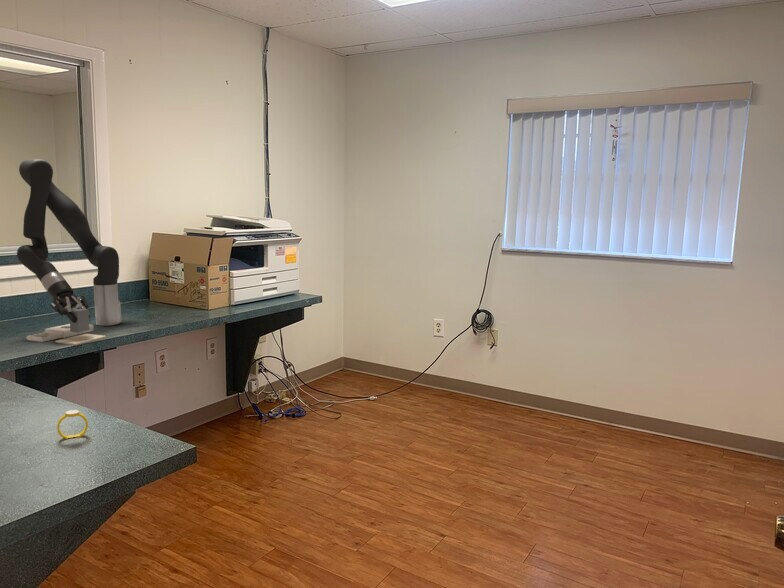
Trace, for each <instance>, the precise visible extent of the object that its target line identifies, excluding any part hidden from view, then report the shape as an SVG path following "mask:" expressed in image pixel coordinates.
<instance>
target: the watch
mask: <svg viewBox="0 0 784 588" xmlns="http://www.w3.org/2000/svg"><path fill="white" fill-rule="evenodd" d="M73 417H80V418H82V419H83V421H84V422H85V426H84V429H83V430H82V431H81V432H80V433H77V434H72V435H70V434H69V435H67V434H64V433H63V432H62V431H61V429H60V424H61V423H62V421H63V420H65V419H66V418H73ZM88 423H89V422H88V418H87V417H86V416H85V415H84V414H83V413H80V410H78V409H71V410H67V411H65V412H64V415H62V416H60V417H59V419H58V421H57V425H56V426H57V427H56V431H57V433H58V435H59V436H60V437H61V438H62V439H65V440H68V439H67V438H70V439H74V438H73V437H77V438H81V437H83V436H84V435H85V434H86V432H87V430H88V428H89V427H88V426H89V424H88Z"/></svg>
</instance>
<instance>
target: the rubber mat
mask: <svg viewBox="0 0 784 588" xmlns="http://www.w3.org/2000/svg"><path fill="white" fill-rule="evenodd" d="M105 338H106V339H107V335H101V334H92V333H82V334H78V335H73V336H69V337H65V338H60V339H58V340H57V339H56V340H55V343H56V344H63V345H64V344H65V345H72V346H77V345H83V344H86V343H90V342H93V341H97V340H103V339H105Z"/></svg>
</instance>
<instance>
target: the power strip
mask: <svg viewBox="0 0 784 588" xmlns="http://www.w3.org/2000/svg"><path fill="white" fill-rule="evenodd" d="M91 332H94V324H90V323H89V330H87V331H83V332H71V331H70V323H66V324H63V325H57V326H51V327H47V328H44V332H39V333H35V334H30V335H26V340H27V341H32V342H38V343H39V342H40V343H43V342H48V341H52V340H57V339H58V340H59V339H66V338H70V337H74V336H79V335H83V334H87V333H91Z"/></svg>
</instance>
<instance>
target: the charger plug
mask: <svg viewBox="0 0 784 588" xmlns="http://www.w3.org/2000/svg"><path fill="white" fill-rule="evenodd" d="M79 308H80V307H79ZM71 312H73V313H74V315H75V316H76V317H77V319H78V320H77V321H76V323H73V322H72V321H71V320H70V319H69V324H70V331H71V332H83V331H87V330H89V324H90V318H89V315H90V312H89V308H88V309H82V308H80V309H71Z"/></svg>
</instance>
